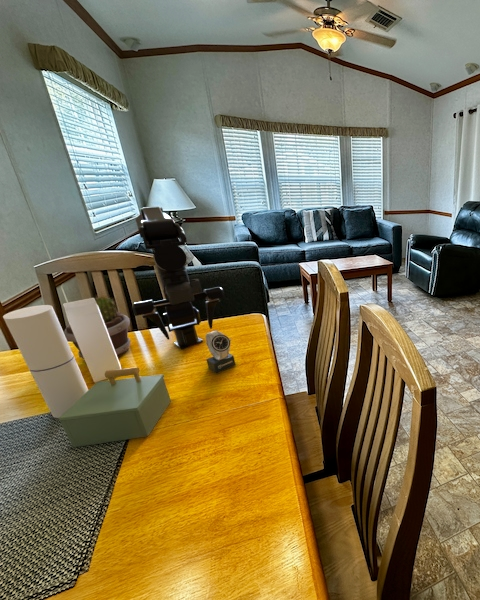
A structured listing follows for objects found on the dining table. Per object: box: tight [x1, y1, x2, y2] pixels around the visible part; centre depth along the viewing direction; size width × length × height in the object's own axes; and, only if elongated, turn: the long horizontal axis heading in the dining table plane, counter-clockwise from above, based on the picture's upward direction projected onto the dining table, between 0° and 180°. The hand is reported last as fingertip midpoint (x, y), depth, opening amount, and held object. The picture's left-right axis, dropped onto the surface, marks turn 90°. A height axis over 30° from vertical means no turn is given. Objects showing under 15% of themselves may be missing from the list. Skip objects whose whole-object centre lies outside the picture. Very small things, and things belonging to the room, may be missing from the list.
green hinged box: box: [59, 377, 172, 448], centre depth 72 cm, size 12×14×7 cm
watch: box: [205, 330, 236, 375], centre depth 91 cm, size 6×8×11 cm
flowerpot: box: [63, 292, 132, 360], centre depth 97 cm, size 14×15×20 cm
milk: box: [62, 297, 122, 384], centre depth 87 cm, size 6×6×22 cm
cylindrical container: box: [2, 304, 89, 419], centre depth 73 cm, size 7×7×25 cm
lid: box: [58, 366, 165, 421], centre depth 70 cm, size 12×14×4 cm
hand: (190, 333), depth 82 cm, fingers open, 9 cm apart
